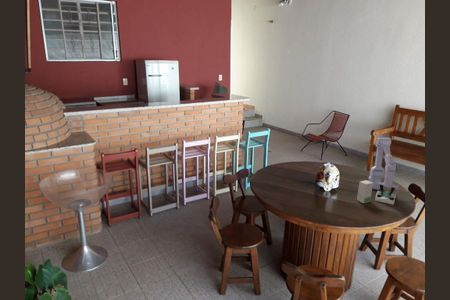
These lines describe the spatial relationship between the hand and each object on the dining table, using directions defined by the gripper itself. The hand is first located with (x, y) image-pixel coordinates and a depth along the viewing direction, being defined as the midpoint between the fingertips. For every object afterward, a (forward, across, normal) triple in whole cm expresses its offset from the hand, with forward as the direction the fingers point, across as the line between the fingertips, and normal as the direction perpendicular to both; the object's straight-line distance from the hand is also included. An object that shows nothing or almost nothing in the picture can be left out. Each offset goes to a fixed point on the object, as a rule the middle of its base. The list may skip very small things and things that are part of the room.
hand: (385, 195), depth 241 cm
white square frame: (+3, 0, 0) cm, 3 cm away
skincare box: (+4, -14, -12) cm, 19 cm away
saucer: (+3, 0, 0) cm, 3 cm away
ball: (+2, 0, 0) cm, 2 cm away
